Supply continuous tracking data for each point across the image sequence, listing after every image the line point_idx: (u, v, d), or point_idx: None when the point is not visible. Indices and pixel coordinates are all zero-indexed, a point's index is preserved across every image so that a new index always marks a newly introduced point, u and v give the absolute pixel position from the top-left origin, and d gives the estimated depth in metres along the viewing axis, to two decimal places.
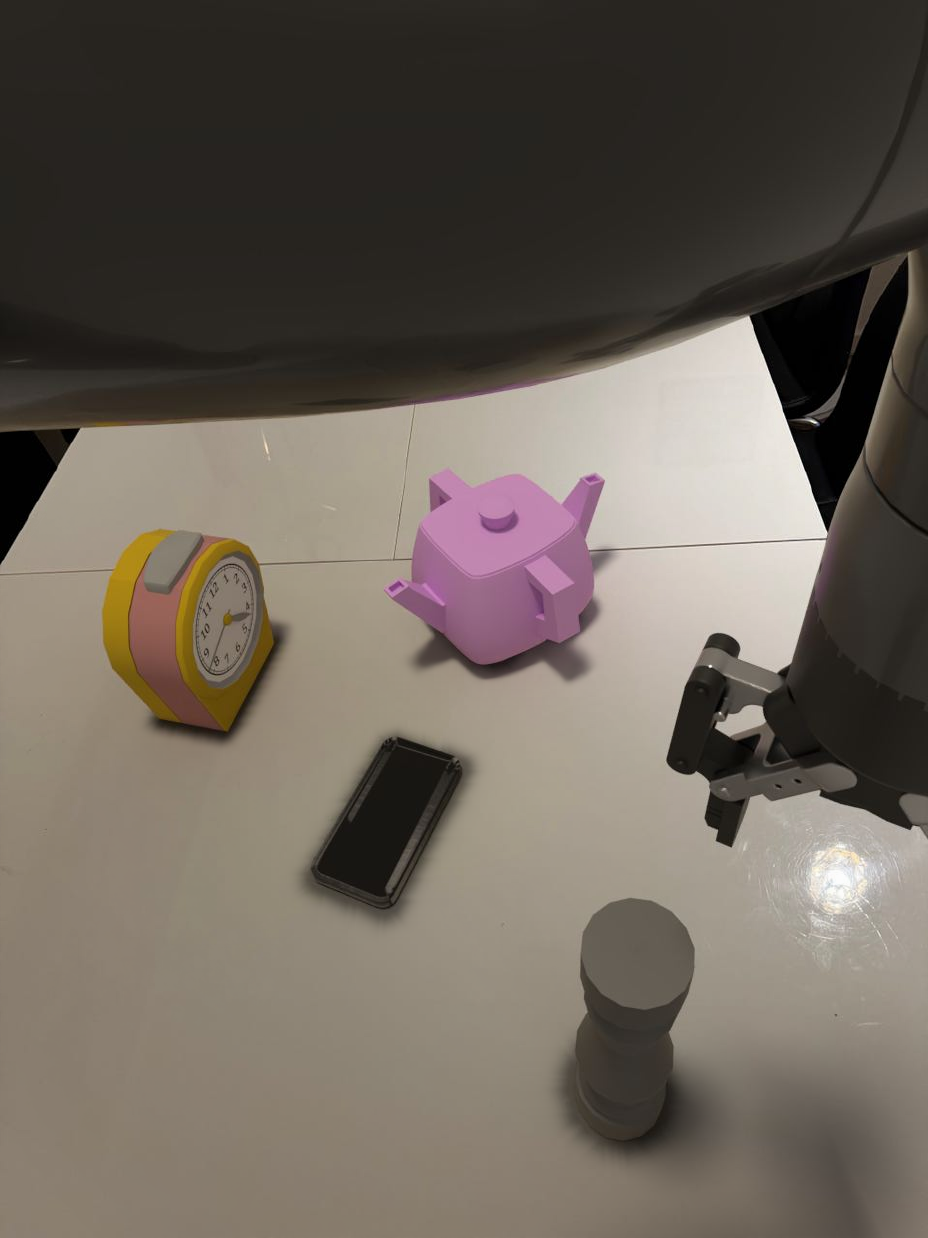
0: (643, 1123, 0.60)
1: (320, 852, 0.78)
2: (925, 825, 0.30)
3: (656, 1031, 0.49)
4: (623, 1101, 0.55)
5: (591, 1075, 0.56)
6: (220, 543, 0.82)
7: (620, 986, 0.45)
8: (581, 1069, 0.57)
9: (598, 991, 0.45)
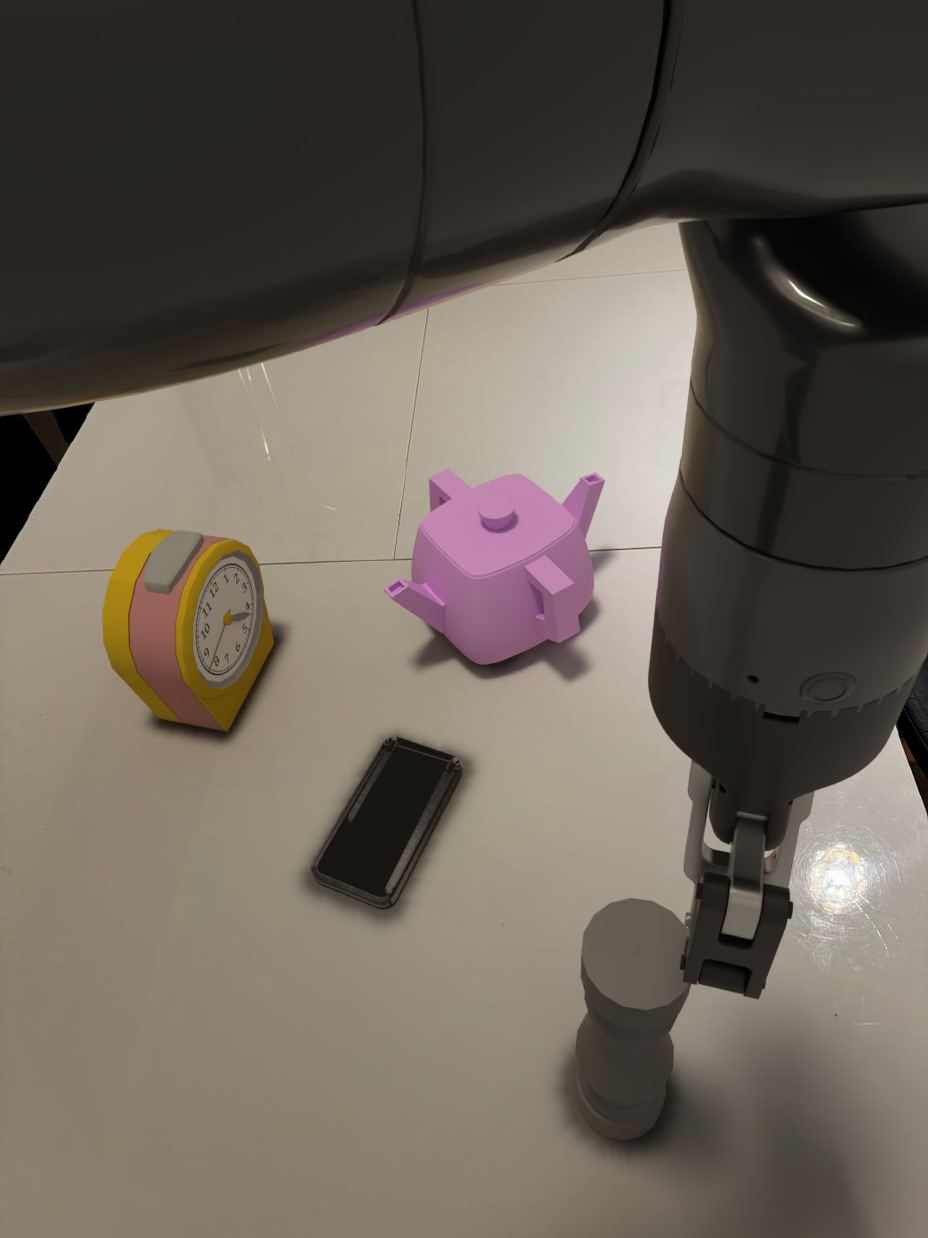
0: (643, 1123, 0.60)
1: (320, 852, 0.78)
2: None
3: (657, 1031, 0.49)
4: (623, 1101, 0.55)
5: (591, 1075, 0.56)
6: (220, 543, 0.82)
7: (621, 986, 0.45)
8: (581, 1069, 0.57)
9: (599, 991, 0.45)
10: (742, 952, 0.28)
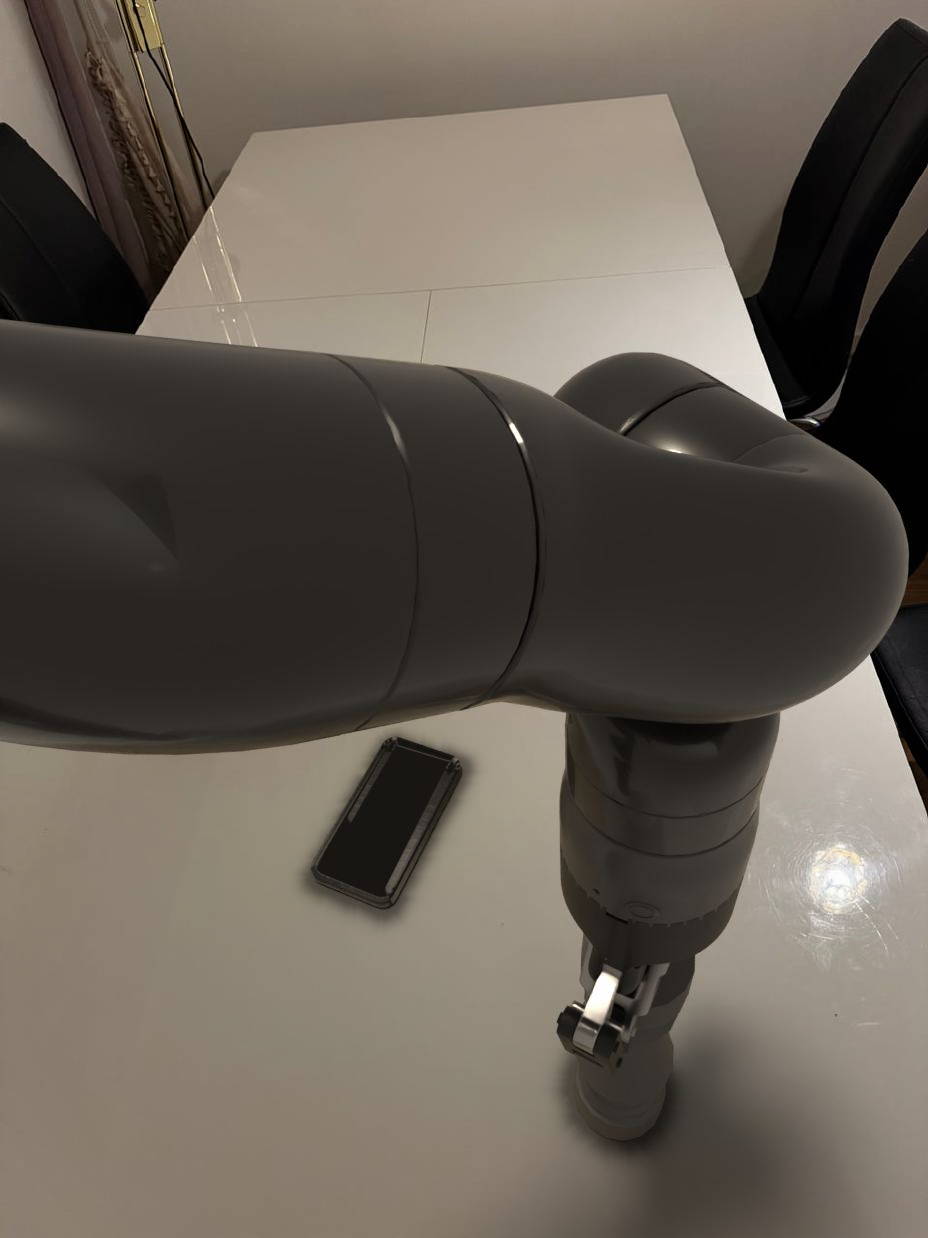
0: (643, 1123, 0.60)
1: (320, 852, 0.78)
2: None
3: (656, 1031, 0.49)
4: (623, 1101, 0.55)
5: (591, 1075, 0.56)
6: None
7: None
8: (581, 1069, 0.57)
9: None
10: (591, 1056, 0.40)
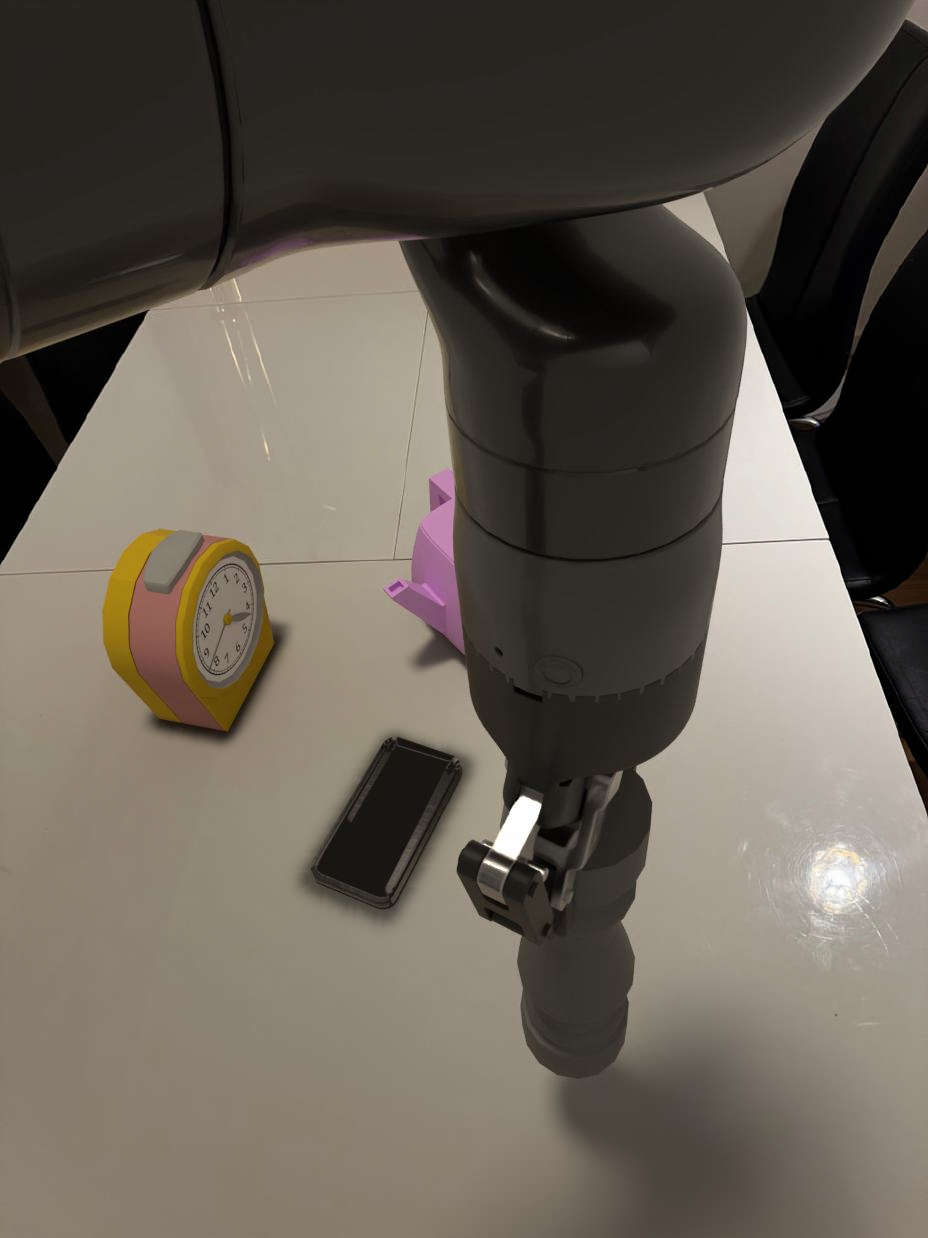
0: (599, 1054, 0.50)
1: (320, 852, 0.78)
2: None
3: (606, 916, 0.39)
4: (572, 1019, 0.46)
5: (533, 988, 0.46)
6: (220, 543, 0.82)
7: None
8: (523, 982, 0.47)
9: None
10: (506, 911, 0.30)
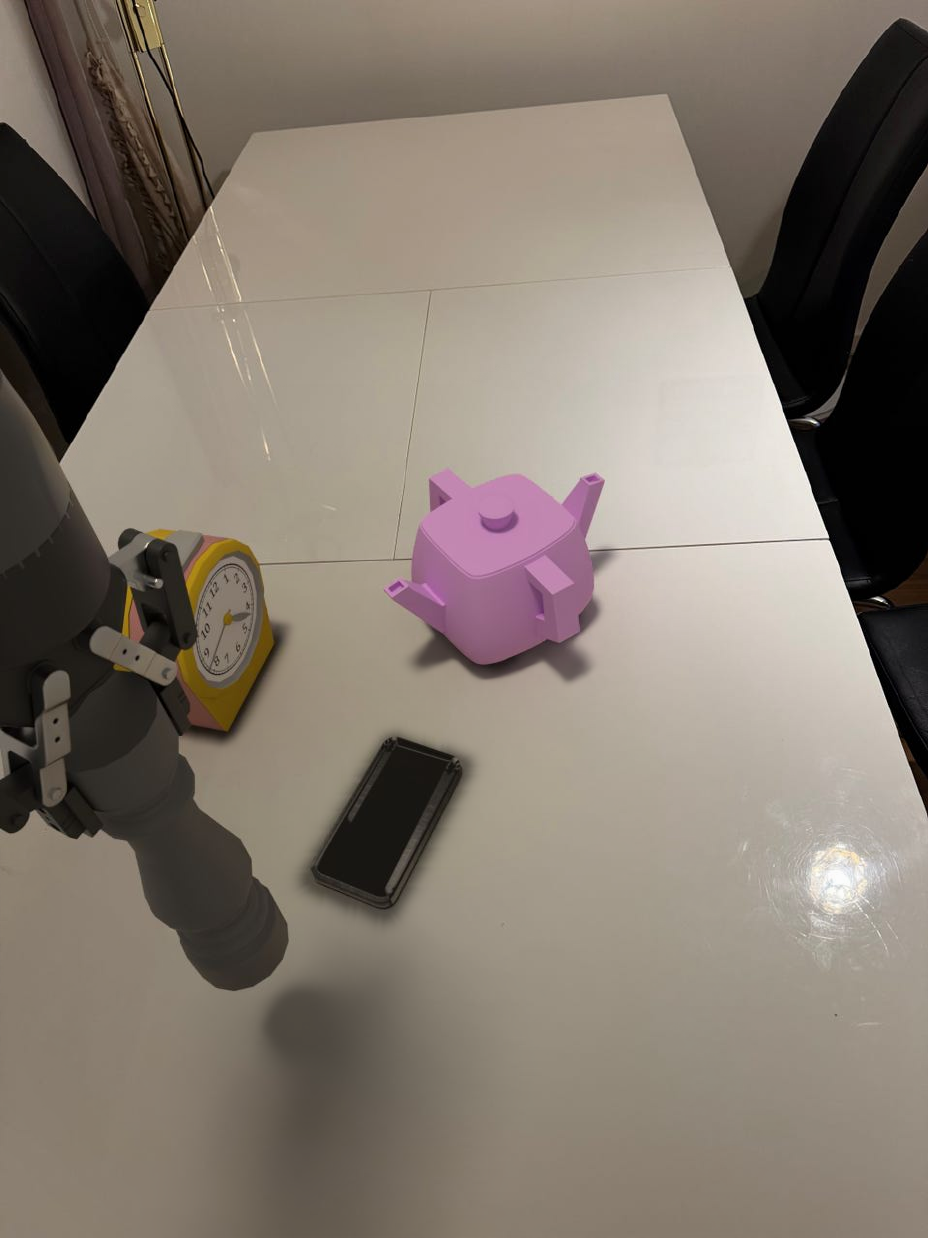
0: (239, 965, 0.55)
1: (320, 852, 0.78)
2: None
3: (150, 822, 0.44)
4: (180, 927, 0.51)
5: (147, 899, 0.51)
6: (220, 543, 0.82)
7: None
8: (144, 895, 0.52)
9: None
10: None
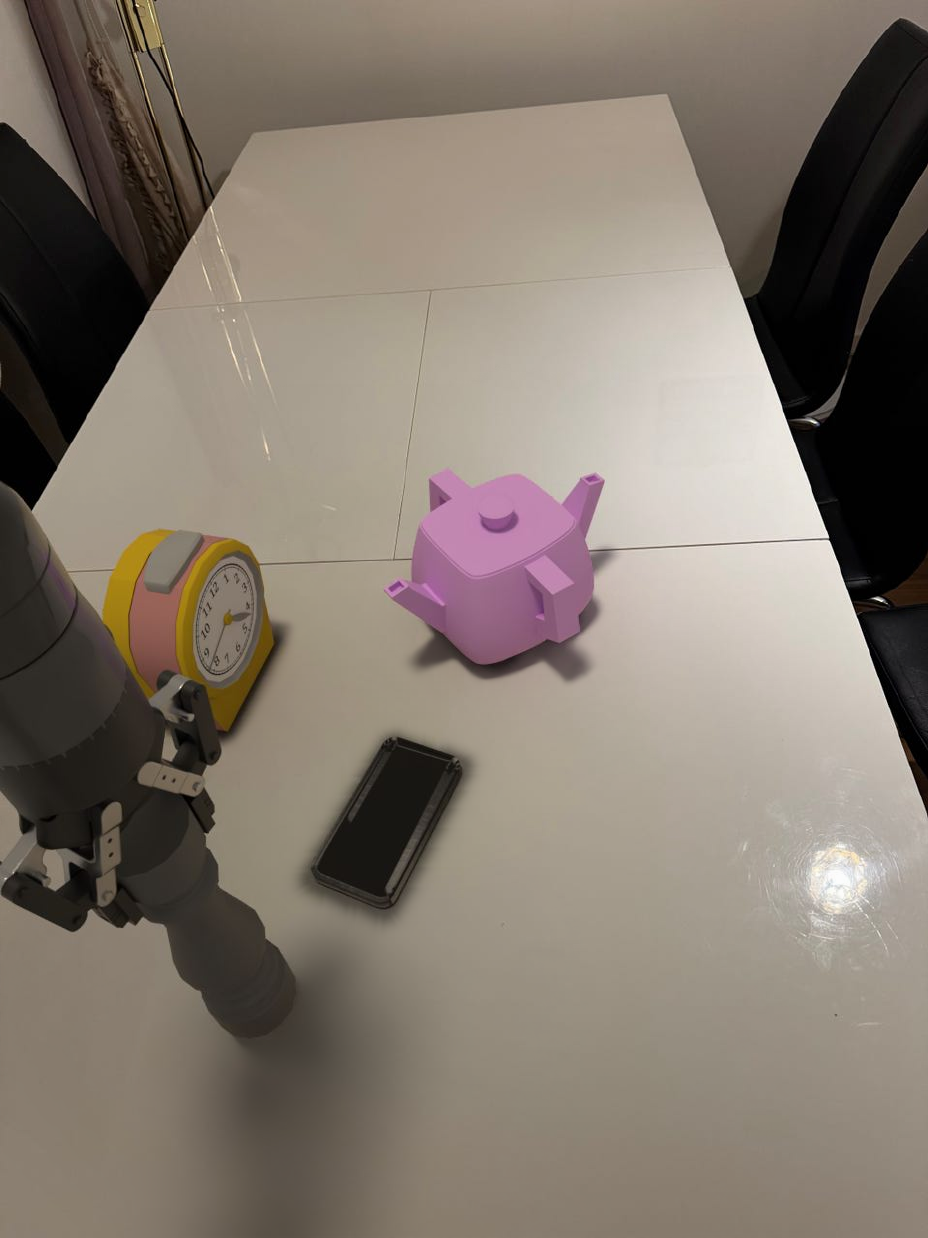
0: (254, 1018, 0.64)
1: (320, 852, 0.78)
2: None
3: (182, 909, 0.52)
4: (205, 989, 0.59)
5: (176, 965, 0.59)
6: (220, 543, 0.82)
7: None
8: (173, 961, 0.60)
9: None
10: None
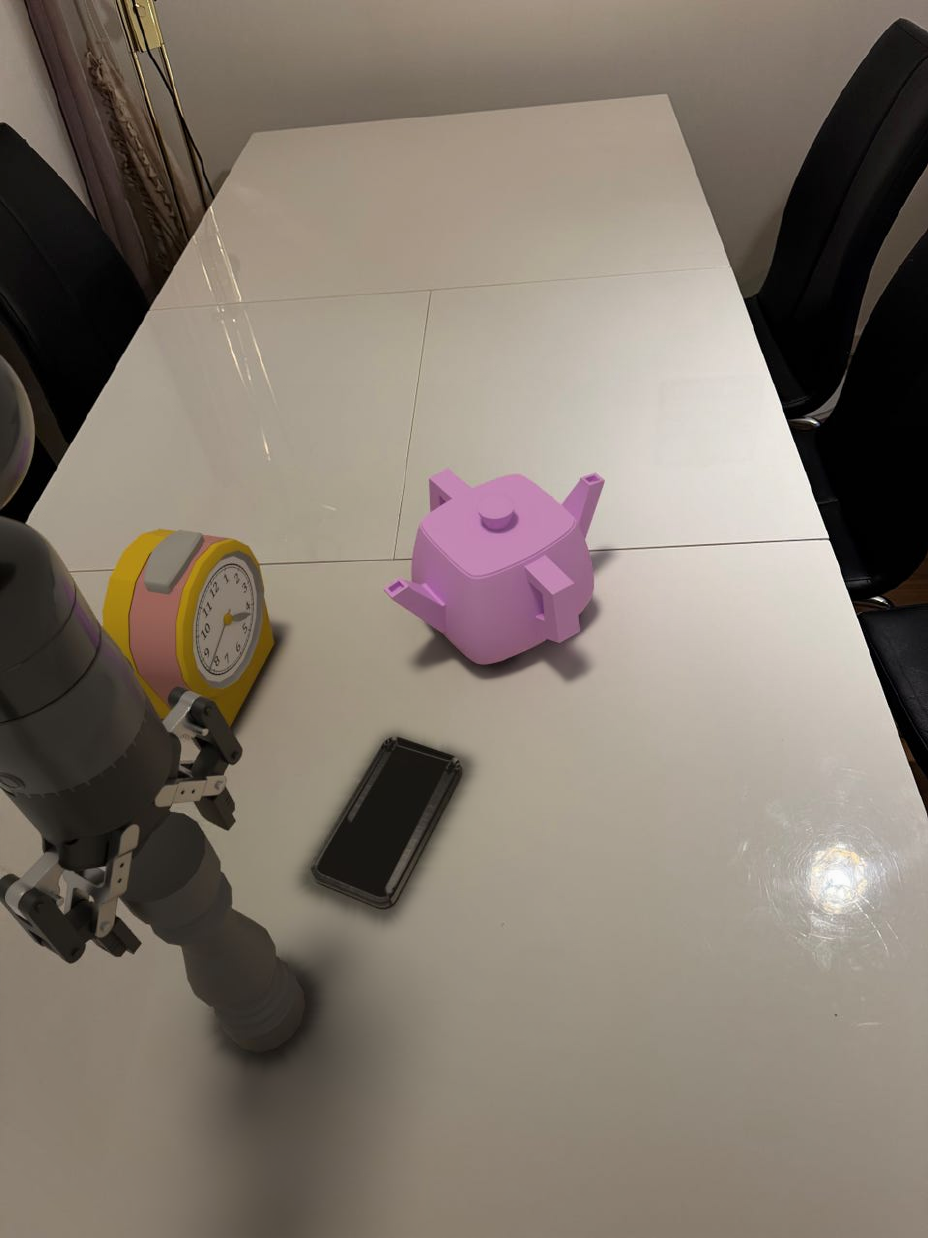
0: (264, 1032, 0.66)
1: (320, 852, 0.78)
2: None
3: (198, 931, 0.55)
4: (218, 1006, 0.61)
5: (190, 983, 0.62)
6: (220, 543, 0.82)
7: (131, 884, 0.51)
8: (187, 978, 0.62)
9: None
10: (34, 928, 0.44)
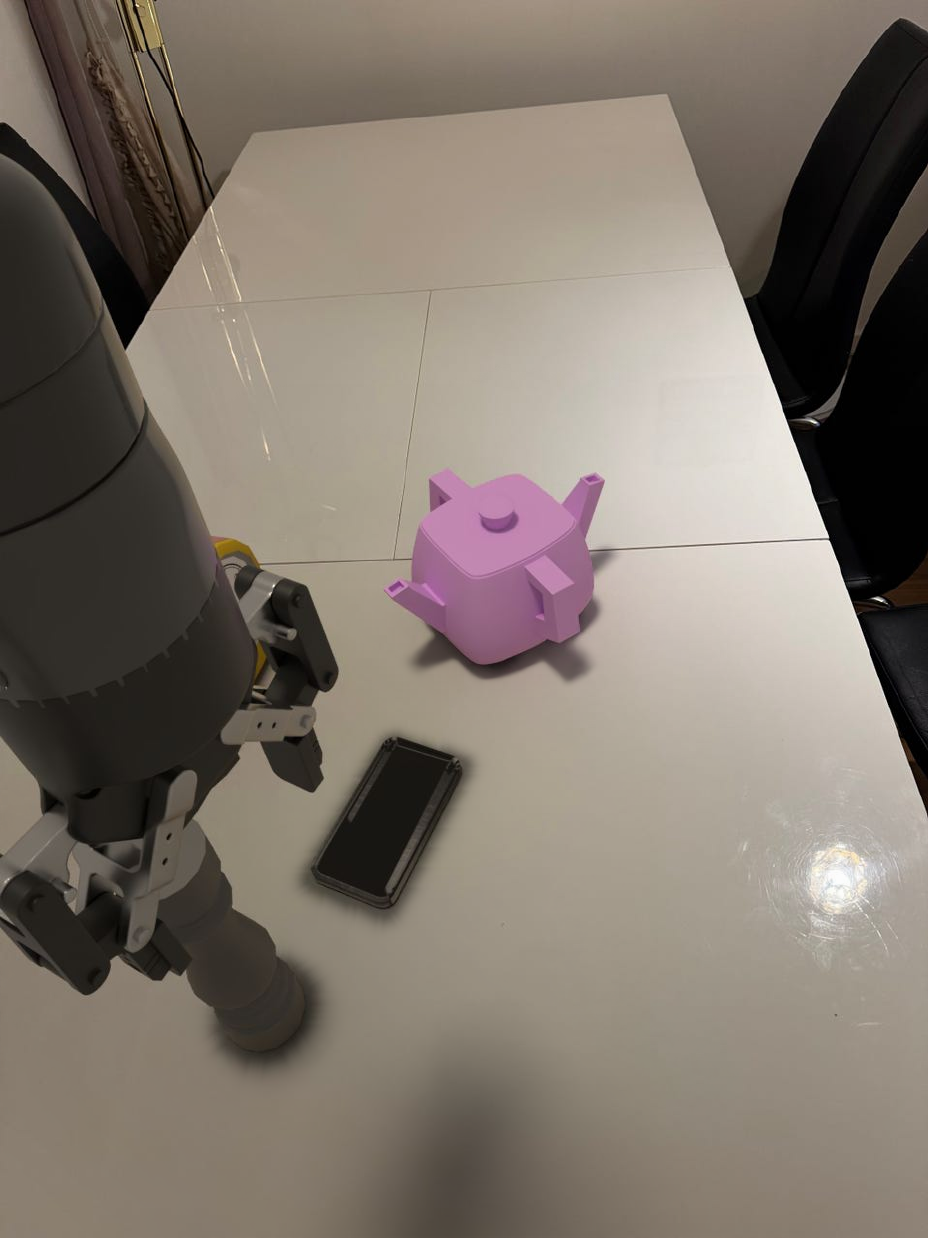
0: (264, 1032, 0.66)
1: (320, 852, 0.78)
2: None
3: (198, 931, 0.55)
4: (218, 1006, 0.61)
5: (190, 983, 0.62)
6: (220, 543, 0.82)
7: None
8: (187, 978, 0.62)
9: None
10: (27, 939, 0.27)
